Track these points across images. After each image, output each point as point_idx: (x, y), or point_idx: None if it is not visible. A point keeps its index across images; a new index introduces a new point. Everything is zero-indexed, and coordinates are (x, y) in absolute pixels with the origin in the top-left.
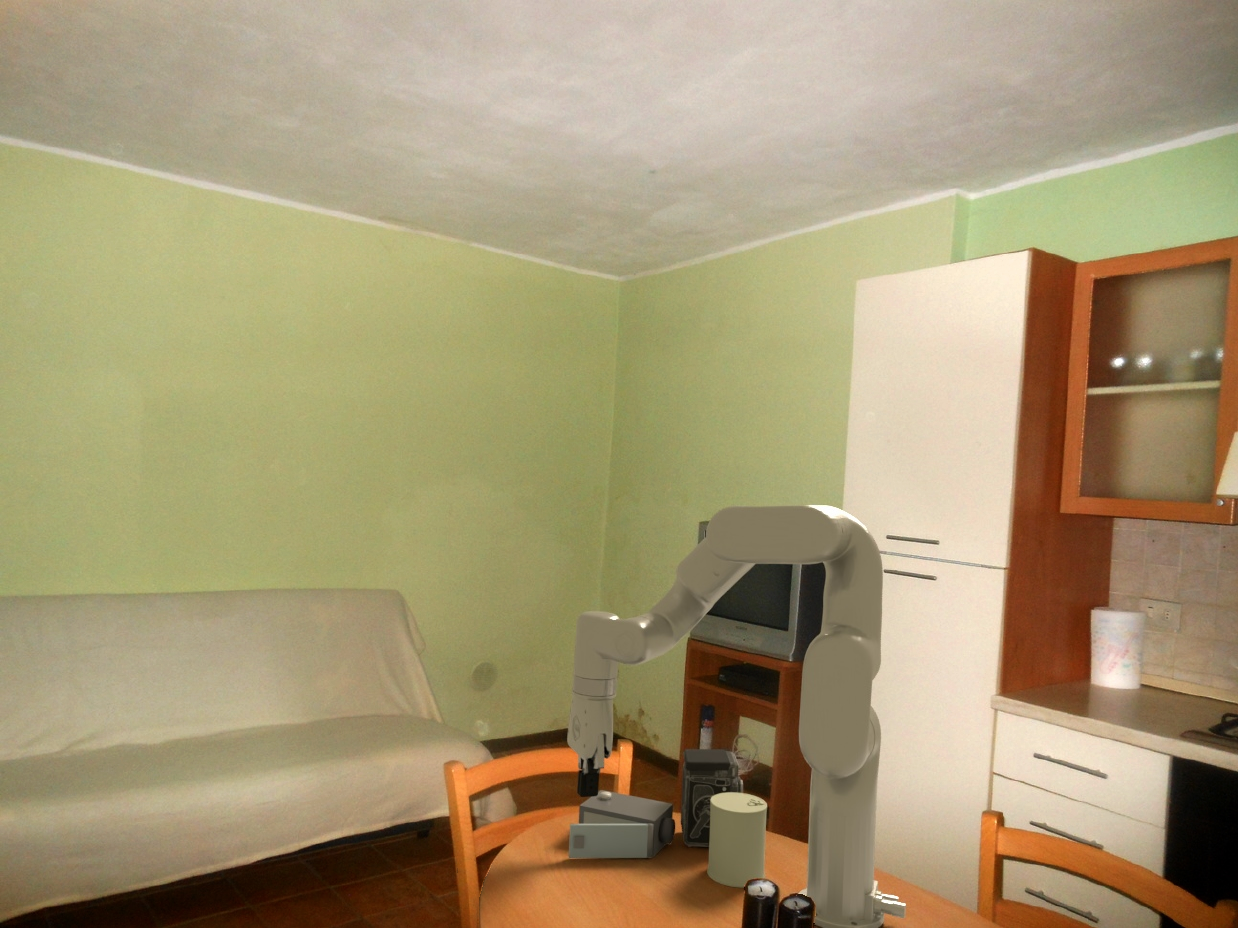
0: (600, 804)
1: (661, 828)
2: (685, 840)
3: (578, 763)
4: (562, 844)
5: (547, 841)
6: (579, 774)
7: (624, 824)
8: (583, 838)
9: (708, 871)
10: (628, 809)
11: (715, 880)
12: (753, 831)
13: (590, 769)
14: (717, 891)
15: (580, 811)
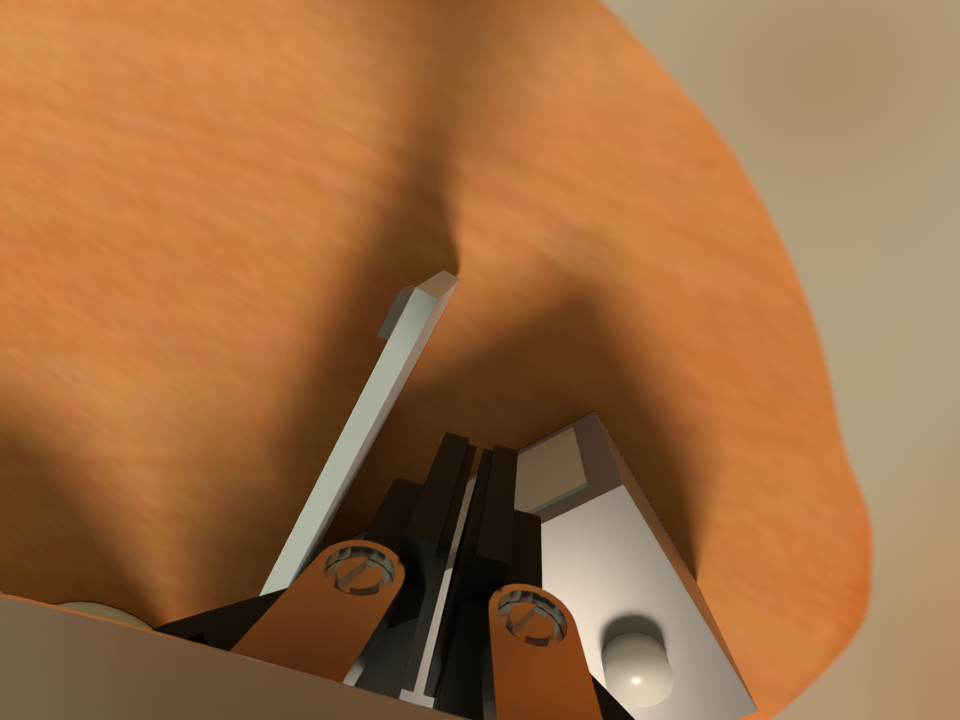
0: (568, 585)
1: None
2: None
3: (570, 637)
4: (597, 331)
5: (664, 290)
6: (480, 533)
7: (299, 538)
8: (379, 330)
9: (124, 622)
10: (431, 656)
11: (78, 602)
12: None
13: (226, 606)
14: (21, 562)
15: (609, 471)
